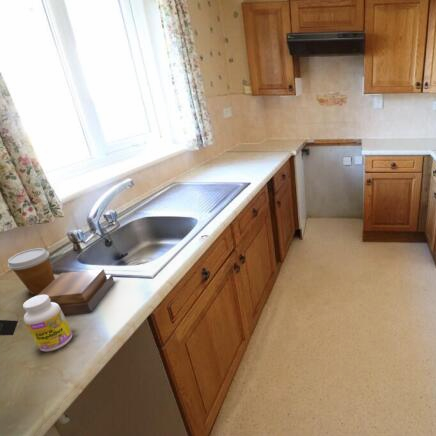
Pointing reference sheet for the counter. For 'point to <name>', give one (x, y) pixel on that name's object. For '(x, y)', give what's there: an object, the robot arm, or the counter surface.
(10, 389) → the counter surface
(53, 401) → the counter surface
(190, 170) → the counter surface
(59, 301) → the board stack
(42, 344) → the supplement bottle
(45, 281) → the disposable coffee cup
